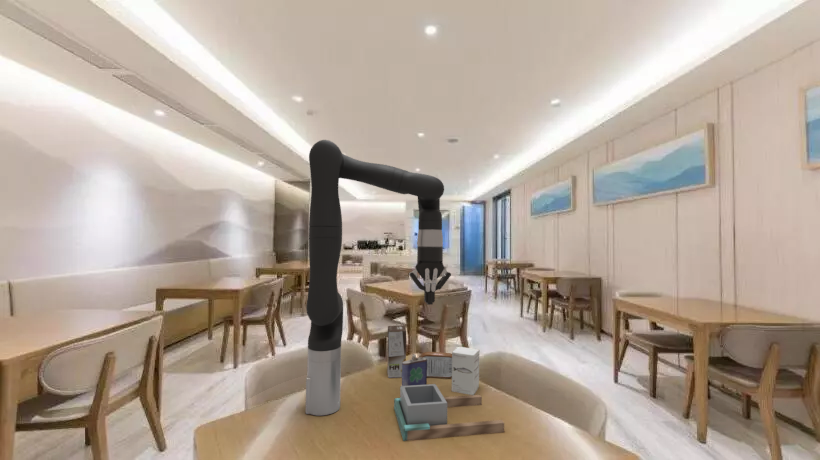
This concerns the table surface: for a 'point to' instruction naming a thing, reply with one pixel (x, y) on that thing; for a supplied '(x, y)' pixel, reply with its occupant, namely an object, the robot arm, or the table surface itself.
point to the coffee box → (396, 350)
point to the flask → (414, 371)
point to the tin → (438, 364)
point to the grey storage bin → (423, 405)
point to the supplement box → (465, 370)
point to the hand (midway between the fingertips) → (429, 304)
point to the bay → (448, 429)
